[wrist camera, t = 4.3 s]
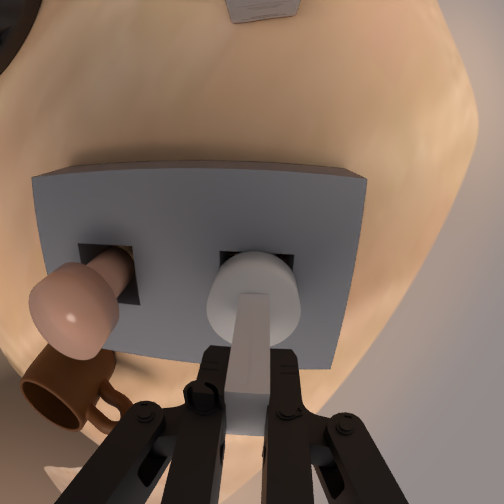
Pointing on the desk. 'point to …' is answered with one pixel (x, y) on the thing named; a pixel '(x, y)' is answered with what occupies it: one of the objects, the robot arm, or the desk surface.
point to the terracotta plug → (81, 302)
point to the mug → (73, 389)
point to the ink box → (260, 9)
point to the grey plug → (254, 282)
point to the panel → (206, 243)
